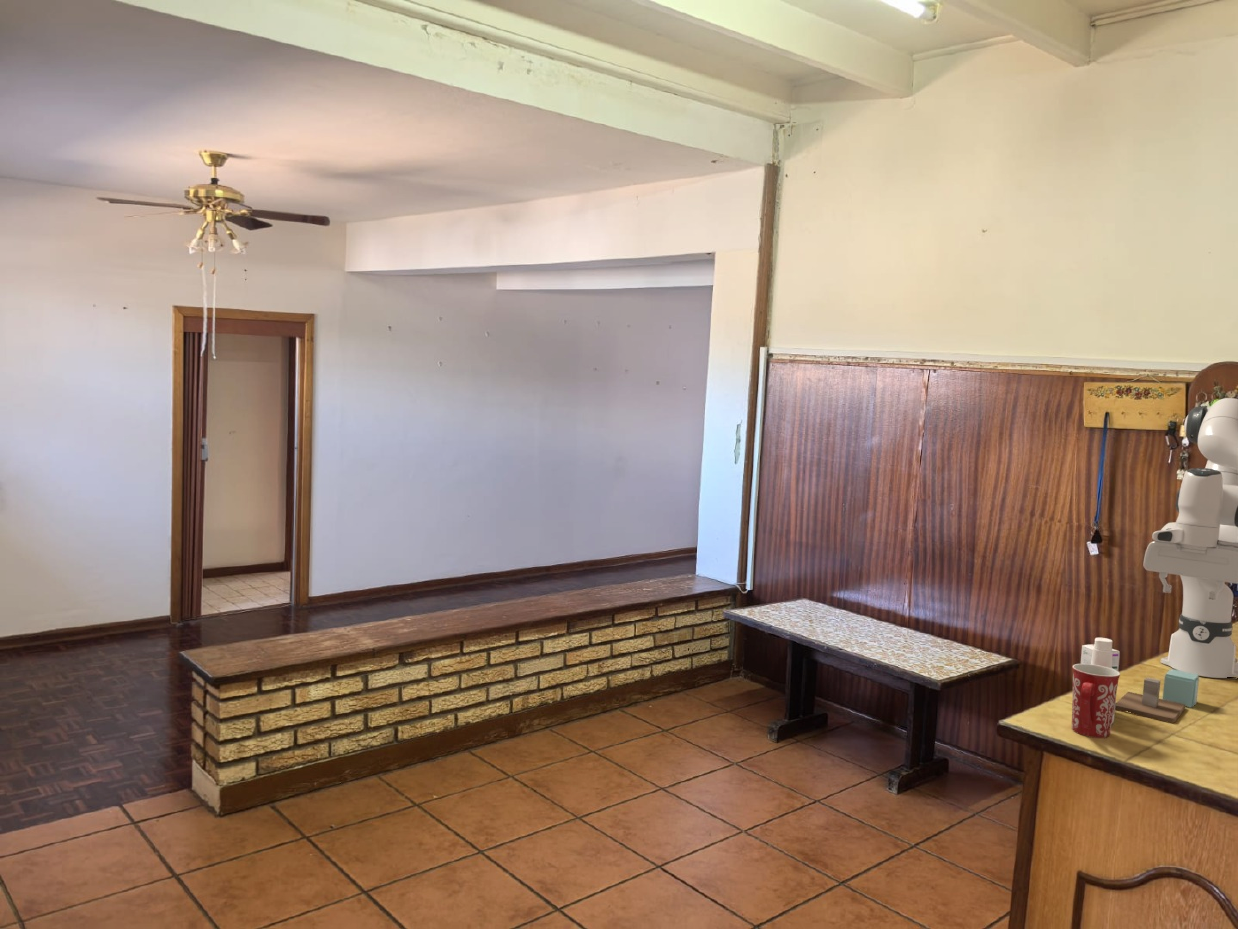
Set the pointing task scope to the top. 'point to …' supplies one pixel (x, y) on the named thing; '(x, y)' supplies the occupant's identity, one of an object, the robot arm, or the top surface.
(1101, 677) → the mug
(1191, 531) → the robot arm
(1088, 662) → the syrup box
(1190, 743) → the top surface
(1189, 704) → the pale teal box
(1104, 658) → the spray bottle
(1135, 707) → the post board
